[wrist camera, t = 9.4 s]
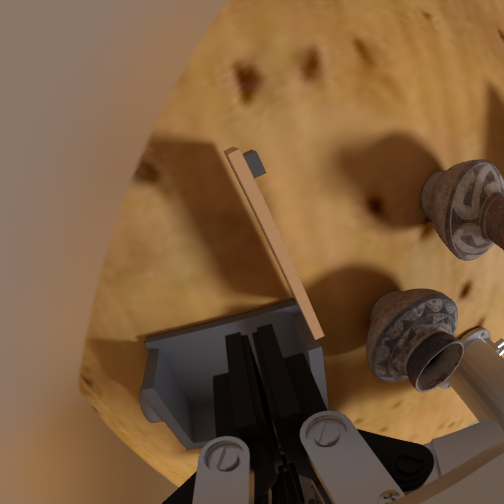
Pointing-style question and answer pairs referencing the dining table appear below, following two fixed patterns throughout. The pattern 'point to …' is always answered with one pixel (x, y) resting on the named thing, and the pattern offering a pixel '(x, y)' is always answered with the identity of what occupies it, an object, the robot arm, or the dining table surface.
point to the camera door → (271, 229)
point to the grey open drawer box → (214, 367)
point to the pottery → (430, 301)
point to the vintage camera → (292, 485)
